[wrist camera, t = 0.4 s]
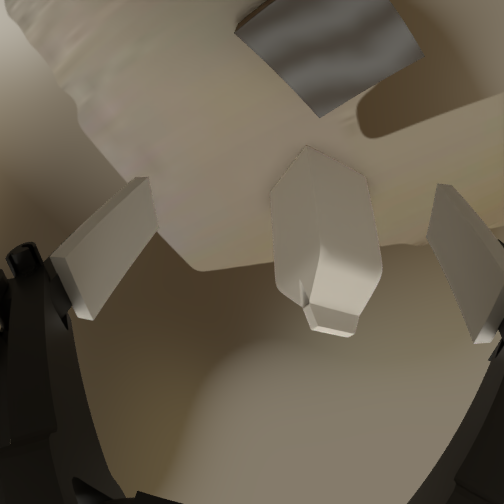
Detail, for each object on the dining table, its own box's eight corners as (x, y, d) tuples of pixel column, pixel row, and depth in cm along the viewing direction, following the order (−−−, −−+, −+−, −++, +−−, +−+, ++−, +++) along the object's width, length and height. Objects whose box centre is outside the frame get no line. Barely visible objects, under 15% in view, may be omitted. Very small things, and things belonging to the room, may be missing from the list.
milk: (365, 176, 50) (400, 322, 35) (326, 216, 59) (340, 352, 44) (306, 145, 46) (323, 302, 31) (269, 192, 55) (267, 338, 40)
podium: (237, 23, 31) (234, 33, 29) (340, -48, 22) (350, -48, 19) (315, 100, 40) (319, 118, 37) (409, 43, 31) (424, 56, 28)
